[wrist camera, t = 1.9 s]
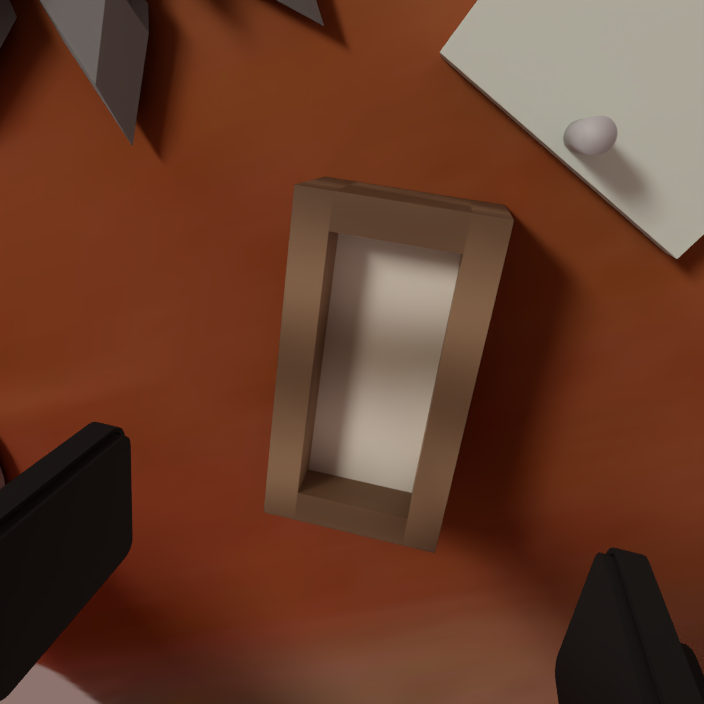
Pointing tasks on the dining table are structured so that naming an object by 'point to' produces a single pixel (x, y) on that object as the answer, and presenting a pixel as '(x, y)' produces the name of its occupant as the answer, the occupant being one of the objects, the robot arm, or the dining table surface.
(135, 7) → the decorative piece
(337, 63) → the dining table surface
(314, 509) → the frame
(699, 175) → the panel
